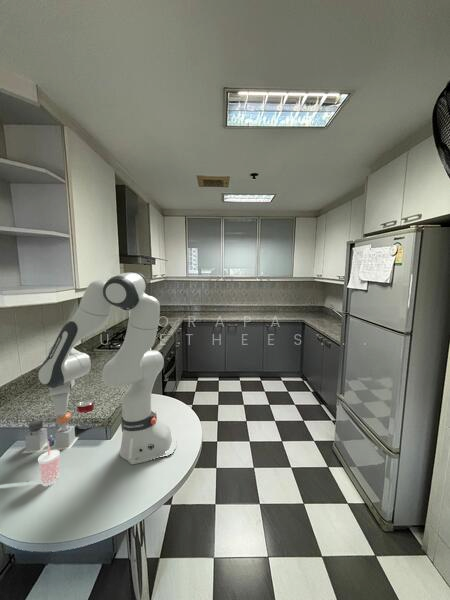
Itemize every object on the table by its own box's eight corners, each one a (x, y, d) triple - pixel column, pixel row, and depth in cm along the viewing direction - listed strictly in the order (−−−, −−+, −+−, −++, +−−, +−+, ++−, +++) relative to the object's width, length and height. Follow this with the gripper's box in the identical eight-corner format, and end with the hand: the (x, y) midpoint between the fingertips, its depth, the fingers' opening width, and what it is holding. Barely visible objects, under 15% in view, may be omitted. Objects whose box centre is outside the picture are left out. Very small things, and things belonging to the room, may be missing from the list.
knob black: (46, 441, 104) (45, 419, 104) (39, 447, 100) (38, 425, 99) (34, 442, 104) (33, 420, 103) (27, 449, 99) (25, 426, 99)
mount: (79, 439, 108) (78, 423, 107) (69, 451, 100) (69, 434, 99) (34, 443, 105) (33, 427, 105) (21, 455, 97) (20, 438, 97)
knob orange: (73, 433, 106) (72, 412, 105) (68, 439, 101) (67, 417, 101) (62, 434, 105) (61, 413, 105) (56, 441, 100) (55, 418, 100)
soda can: (87, 433, 112) (86, 407, 112) (73, 431, 114) (72, 406, 113) (98, 424, 119) (97, 400, 119) (85, 423, 121) (84, 399, 120)
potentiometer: (56, 442, 104) (55, 433, 103) (52, 446, 101) (52, 437, 101) (50, 443, 103) (49, 434, 103) (46, 446, 101) (46, 437, 101)
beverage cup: (44, 476, 86) (42, 437, 86) (64, 472, 88) (61, 434, 87) (35, 489, 80) (33, 448, 80) (56, 485, 82) (54, 445, 81)
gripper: (56, 376, 109) (57, 406, 110) (49, 393, 92) (51, 429, 92) (72, 373, 113) (73, 403, 113) (69, 389, 95) (70, 424, 95)
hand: (63, 415), depth 103 cm, fingers closed
